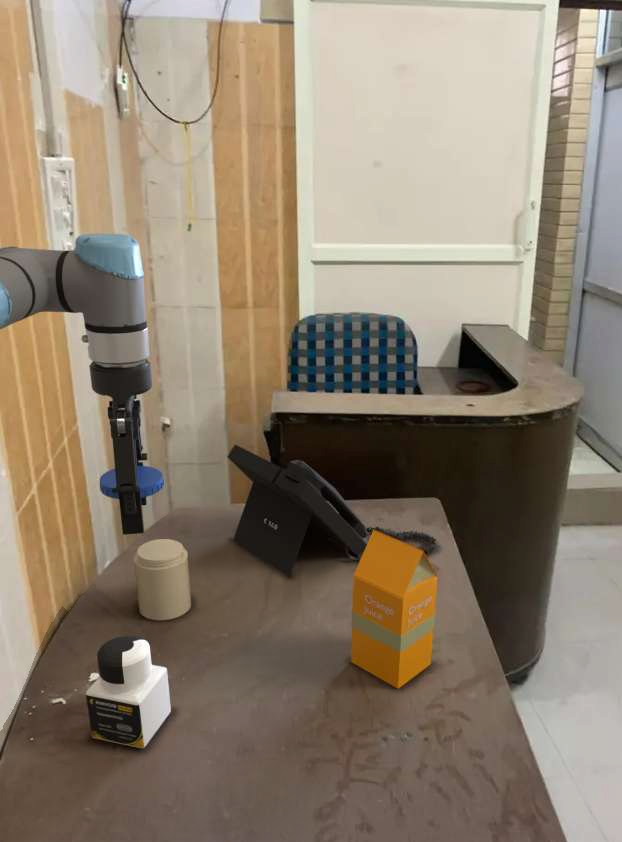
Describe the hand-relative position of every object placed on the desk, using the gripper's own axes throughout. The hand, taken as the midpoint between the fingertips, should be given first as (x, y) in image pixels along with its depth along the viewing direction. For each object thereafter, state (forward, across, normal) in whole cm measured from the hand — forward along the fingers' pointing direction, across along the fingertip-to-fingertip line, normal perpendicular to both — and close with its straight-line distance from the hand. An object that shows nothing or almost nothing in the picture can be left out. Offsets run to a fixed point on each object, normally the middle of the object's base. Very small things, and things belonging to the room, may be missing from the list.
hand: (135, 518), depth 107 cm
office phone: (+19, -22, +33) cm, 44 cm away
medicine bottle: (+19, +21, -1) cm, 28 cm away
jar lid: (-6, 0, 0) cm, 6 cm away
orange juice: (+18, +15, +34) cm, 42 cm away
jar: (+18, -6, +3) cm, 20 cm away
